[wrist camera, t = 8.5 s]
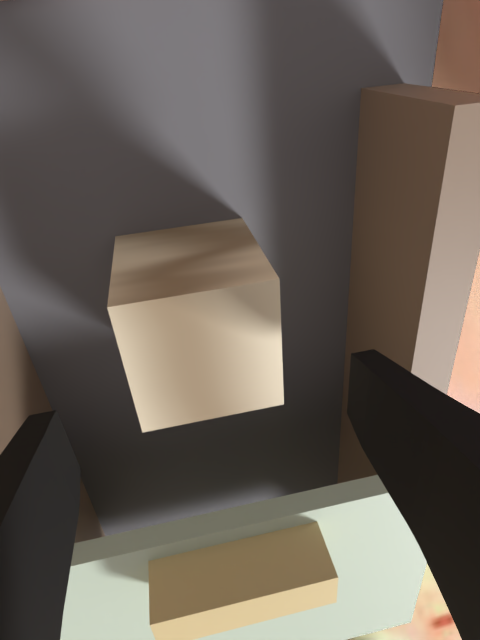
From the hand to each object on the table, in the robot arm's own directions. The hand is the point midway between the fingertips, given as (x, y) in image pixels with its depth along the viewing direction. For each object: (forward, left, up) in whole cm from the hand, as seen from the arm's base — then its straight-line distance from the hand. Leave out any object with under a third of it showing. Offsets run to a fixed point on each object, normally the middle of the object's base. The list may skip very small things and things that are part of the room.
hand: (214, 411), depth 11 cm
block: (0, 0, -7) cm, 7 cm away
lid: (0, +12, -2) cm, 12 cm away
